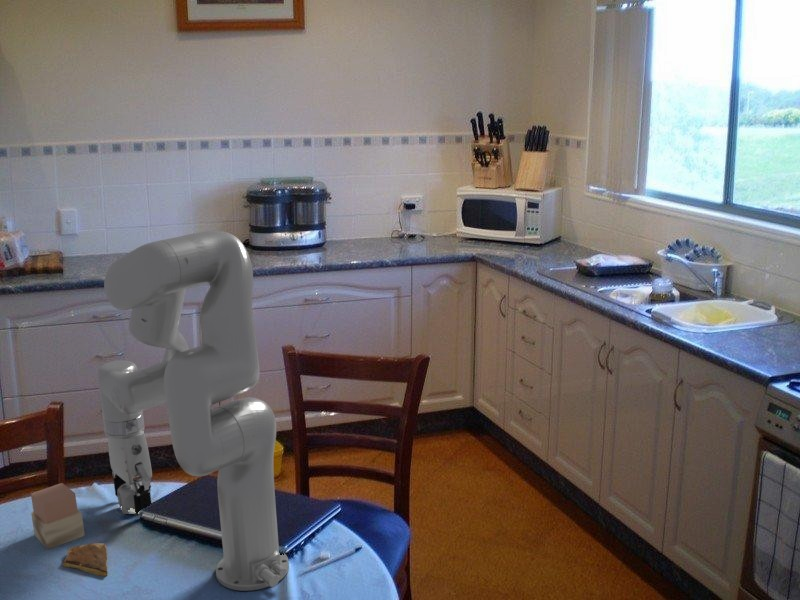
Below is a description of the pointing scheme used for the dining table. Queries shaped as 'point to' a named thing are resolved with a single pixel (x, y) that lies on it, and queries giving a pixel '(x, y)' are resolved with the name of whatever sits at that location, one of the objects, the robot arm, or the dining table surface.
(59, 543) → the tower base
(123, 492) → the die
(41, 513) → the tower top
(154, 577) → the dining table surface
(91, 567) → the shard
